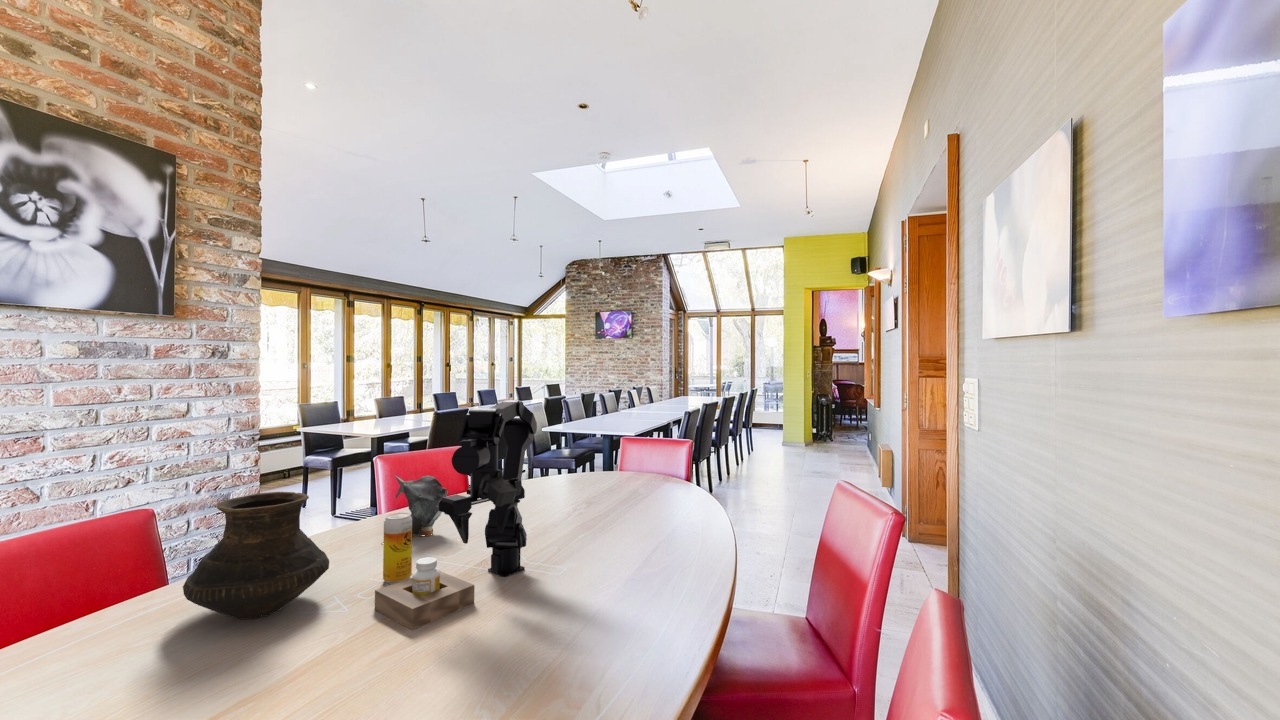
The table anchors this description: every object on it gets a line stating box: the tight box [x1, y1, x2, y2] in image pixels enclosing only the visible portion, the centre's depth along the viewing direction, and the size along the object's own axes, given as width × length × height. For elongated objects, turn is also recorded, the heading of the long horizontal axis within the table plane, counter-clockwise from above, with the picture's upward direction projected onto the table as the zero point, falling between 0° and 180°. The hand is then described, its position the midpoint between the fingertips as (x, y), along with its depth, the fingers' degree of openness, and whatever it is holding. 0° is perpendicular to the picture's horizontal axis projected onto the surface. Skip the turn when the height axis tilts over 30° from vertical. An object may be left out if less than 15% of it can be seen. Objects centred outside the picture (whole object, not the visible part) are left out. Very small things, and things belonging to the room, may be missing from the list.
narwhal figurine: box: [382, 474, 449, 543], centre depth 157 cm, size 14×15×18 cm
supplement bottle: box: [411, 556, 441, 597], centre depth 111 cm, size 5×5×10 cm
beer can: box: [382, 512, 413, 585], centre depth 125 cm, size 6×6×15 cm
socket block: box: [374, 570, 475, 631], centre depth 111 cm, size 14×14×4 cm
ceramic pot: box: [182, 491, 330, 620], centre depth 109 cm, size 24×24×22 cm
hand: (483, 537), depth 115 cm, fingers open, 9 cm apart
